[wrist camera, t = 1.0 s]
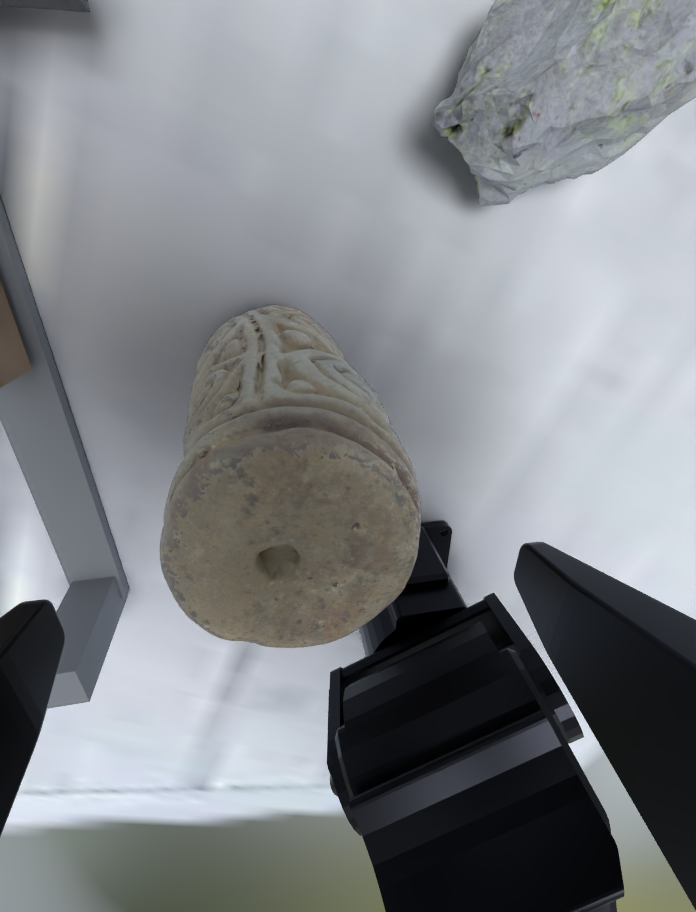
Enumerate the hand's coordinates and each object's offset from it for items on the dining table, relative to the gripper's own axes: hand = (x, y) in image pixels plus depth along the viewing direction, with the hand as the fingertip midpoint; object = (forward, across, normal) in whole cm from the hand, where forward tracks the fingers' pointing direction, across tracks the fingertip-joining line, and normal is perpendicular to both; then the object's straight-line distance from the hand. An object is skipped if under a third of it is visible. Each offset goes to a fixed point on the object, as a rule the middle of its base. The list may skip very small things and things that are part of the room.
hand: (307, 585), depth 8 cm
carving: (+13, 0, 0) cm, 13 cm away
